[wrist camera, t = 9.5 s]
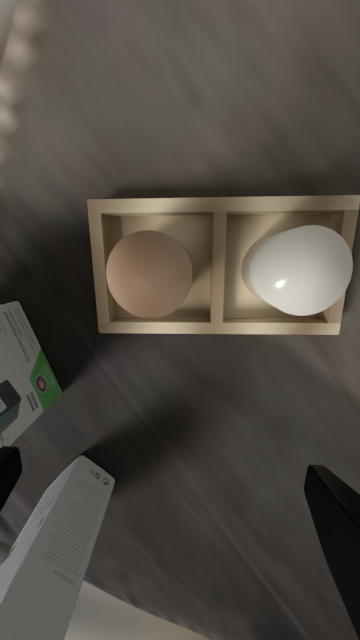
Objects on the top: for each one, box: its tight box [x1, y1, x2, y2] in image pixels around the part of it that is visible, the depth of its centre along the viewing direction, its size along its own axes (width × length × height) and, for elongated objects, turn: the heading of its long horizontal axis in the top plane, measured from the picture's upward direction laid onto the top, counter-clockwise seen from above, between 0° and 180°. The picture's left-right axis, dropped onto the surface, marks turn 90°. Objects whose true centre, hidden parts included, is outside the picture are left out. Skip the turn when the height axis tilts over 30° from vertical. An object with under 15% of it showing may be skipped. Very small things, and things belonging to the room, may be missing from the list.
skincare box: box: [0, 455, 115, 640], centre depth 17 cm, size 6×4×12 cm
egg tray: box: [87, 195, 360, 335], centre depth 17 cm, size 16×9×2 cm, turn 90°
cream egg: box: [241, 225, 353, 316], centre depth 14 cm, size 4×4×5 cm
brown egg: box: [106, 230, 192, 318], centre depth 15 cm, size 4×4×5 cm
